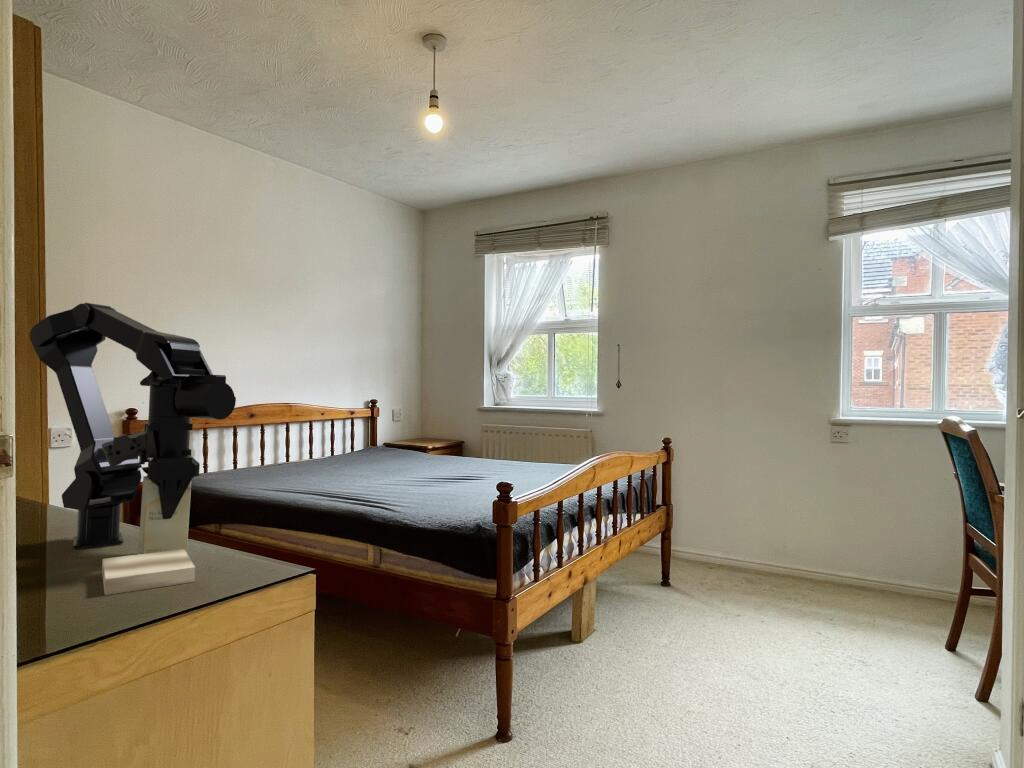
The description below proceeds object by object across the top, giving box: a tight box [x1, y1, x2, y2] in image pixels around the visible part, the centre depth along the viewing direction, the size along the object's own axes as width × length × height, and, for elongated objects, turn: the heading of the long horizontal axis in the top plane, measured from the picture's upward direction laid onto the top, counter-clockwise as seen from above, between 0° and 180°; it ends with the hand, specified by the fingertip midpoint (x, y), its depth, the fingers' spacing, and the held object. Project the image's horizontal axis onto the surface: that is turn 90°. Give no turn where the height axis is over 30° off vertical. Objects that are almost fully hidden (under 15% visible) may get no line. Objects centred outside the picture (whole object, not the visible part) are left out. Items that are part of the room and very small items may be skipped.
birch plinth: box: [101, 549, 196, 596], centre depth 79 cm, size 10×10×2 cm
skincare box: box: [137, 475, 193, 554], centre depth 90 cm, size 6×4×12 cm
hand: (165, 515), depth 90 cm, fingers closed on skincare box, 4 cm apart
